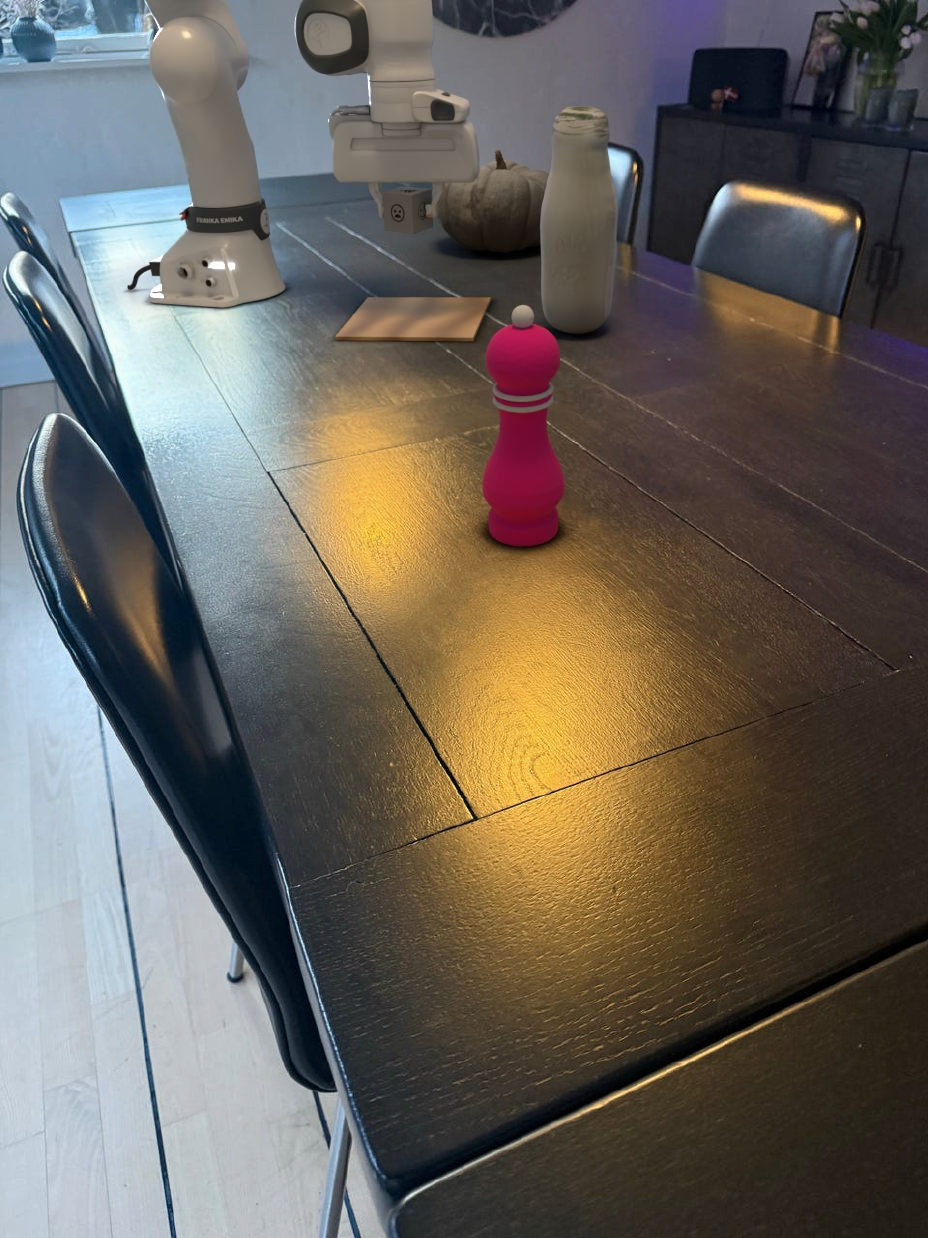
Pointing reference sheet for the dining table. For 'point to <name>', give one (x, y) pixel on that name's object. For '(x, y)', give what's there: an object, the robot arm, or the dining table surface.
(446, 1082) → the dining table surface
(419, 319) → the brown wooden board
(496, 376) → the pepper mill
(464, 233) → the gourd
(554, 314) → the glass bottle
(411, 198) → the grey emoticon cube
